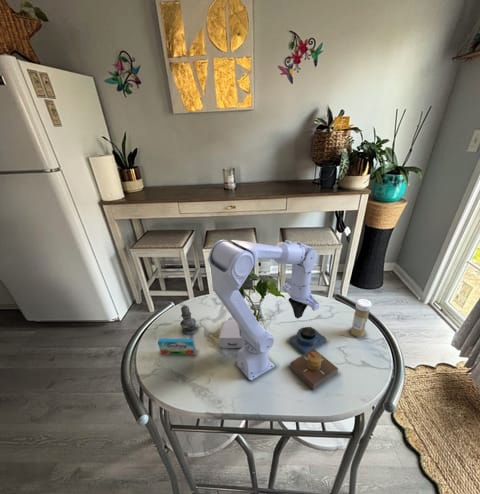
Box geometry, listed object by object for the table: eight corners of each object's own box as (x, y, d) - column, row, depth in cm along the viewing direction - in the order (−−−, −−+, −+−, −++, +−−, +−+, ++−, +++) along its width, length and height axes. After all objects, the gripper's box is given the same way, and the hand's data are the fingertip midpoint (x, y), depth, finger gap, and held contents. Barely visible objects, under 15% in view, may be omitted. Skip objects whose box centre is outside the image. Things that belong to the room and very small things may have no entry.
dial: (323, 366, 82) (324, 357, 80) (313, 372, 80) (314, 363, 78) (313, 358, 85) (314, 349, 83) (304, 364, 83) (305, 355, 81)
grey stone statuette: (200, 330, 103) (195, 305, 97) (185, 337, 101) (179, 311, 94) (193, 322, 107) (188, 297, 101) (179, 328, 105) (173, 303, 98)
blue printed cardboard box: (196, 352, 94) (193, 338, 91) (195, 355, 93) (192, 342, 89) (162, 351, 95) (158, 338, 92) (161, 354, 94) (157, 341, 91)
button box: (304, 354, 90) (305, 347, 88) (289, 341, 95) (289, 334, 93) (325, 341, 94) (326, 334, 92) (310, 330, 100) (310, 322, 98)
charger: (248, 320, 106) (246, 348, 94) (225, 320, 107) (219, 347, 95) (248, 310, 104) (245, 338, 91) (224, 310, 105) (218, 337, 92)
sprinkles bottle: (367, 334, 96) (374, 303, 88) (357, 339, 94) (364, 308, 87) (357, 327, 99) (363, 296, 92) (347, 331, 98) (353, 301, 90)
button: (307, 341, 90) (308, 337, 90) (298, 334, 94) (298, 330, 93) (317, 336, 92) (317, 332, 91) (308, 329, 96) (308, 325, 95)
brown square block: (313, 390, 78) (313, 384, 77) (289, 368, 86) (290, 362, 84) (337, 373, 83) (338, 368, 81) (313, 354, 90) (313, 348, 88)
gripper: (328, 287, 79) (323, 323, 87) (294, 268, 90) (292, 302, 97) (310, 296, 76) (307, 332, 84) (277, 275, 87) (277, 309, 94)
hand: (298, 316), depth 90 cm, fingers closed
